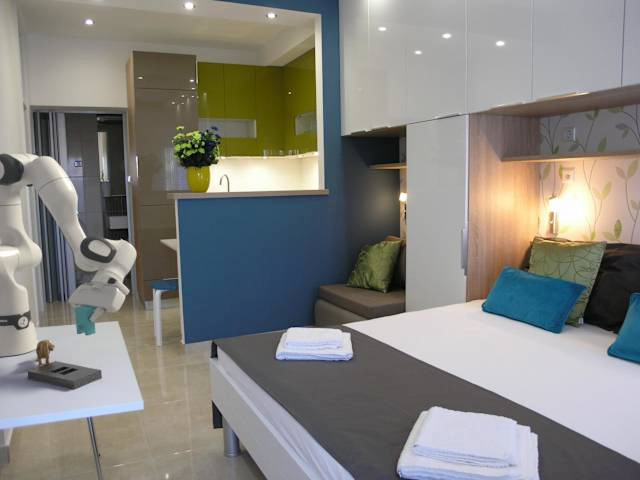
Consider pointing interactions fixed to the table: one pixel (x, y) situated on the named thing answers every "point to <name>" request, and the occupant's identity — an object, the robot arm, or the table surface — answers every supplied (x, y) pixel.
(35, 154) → the robot arm
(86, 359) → the table surface
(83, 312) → the teal rectangular prism
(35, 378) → the gray rectangular base
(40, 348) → the lion figurine
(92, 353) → the table surface
